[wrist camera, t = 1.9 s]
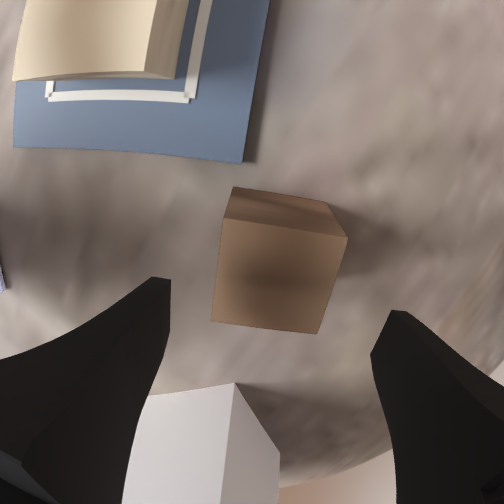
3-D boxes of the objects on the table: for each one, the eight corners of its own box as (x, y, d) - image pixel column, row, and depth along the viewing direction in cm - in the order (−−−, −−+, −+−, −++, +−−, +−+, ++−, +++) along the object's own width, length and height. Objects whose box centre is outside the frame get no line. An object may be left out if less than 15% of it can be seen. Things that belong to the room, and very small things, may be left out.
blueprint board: (19, 145, 14) (12, 147, 13) (56, -55, 8) (50, -59, 7) (242, 162, 14) (241, 164, 14) (284, -74, 9) (285, -80, 8)
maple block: (62, 81, 12) (12, 81, 8) (84, -24, 9) (42, -47, 6) (174, 79, 12) (143, 70, 9) (197, -35, 10) (178, -74, 6)
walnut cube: (221, 268, 17) (211, 320, 13) (233, 186, 15) (223, 217, 11) (304, 280, 17) (317, 334, 13) (325, 201, 15) (348, 238, 11)
